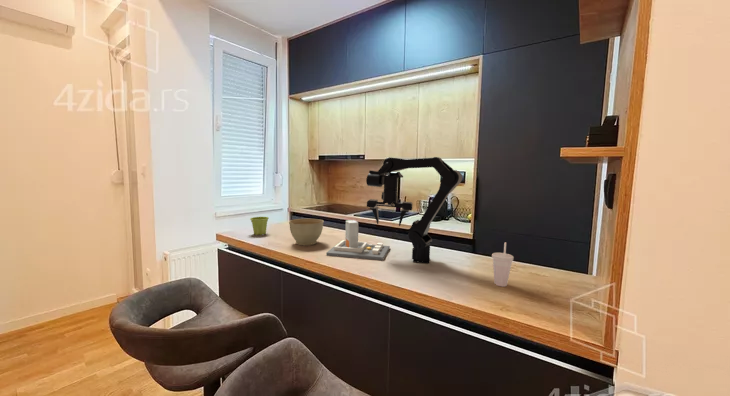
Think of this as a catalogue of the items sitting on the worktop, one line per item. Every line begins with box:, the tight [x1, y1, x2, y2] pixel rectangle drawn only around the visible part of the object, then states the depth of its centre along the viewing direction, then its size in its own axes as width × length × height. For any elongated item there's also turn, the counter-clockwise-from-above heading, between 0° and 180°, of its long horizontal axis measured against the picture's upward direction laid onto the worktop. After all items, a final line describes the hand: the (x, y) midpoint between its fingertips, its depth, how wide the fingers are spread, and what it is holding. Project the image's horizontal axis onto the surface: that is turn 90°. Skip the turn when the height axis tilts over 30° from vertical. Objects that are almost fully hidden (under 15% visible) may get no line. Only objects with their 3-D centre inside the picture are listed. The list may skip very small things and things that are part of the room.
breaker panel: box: [325, 239, 390, 261], centre depth 131 cm, size 24×18×3 cm
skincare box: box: [344, 219, 359, 248], centre depth 132 cm, size 6×4×12 cm
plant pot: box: [249, 216, 269, 236], centre depth 161 cm, size 9×9×9 cm
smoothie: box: [491, 242, 514, 288], centre depth 96 cm, size 6×6×14 cm
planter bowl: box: [288, 218, 324, 246], centre depth 143 cm, size 16×16×11 cm
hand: (388, 224), depth 126 cm, fingers open, 9 cm apart
